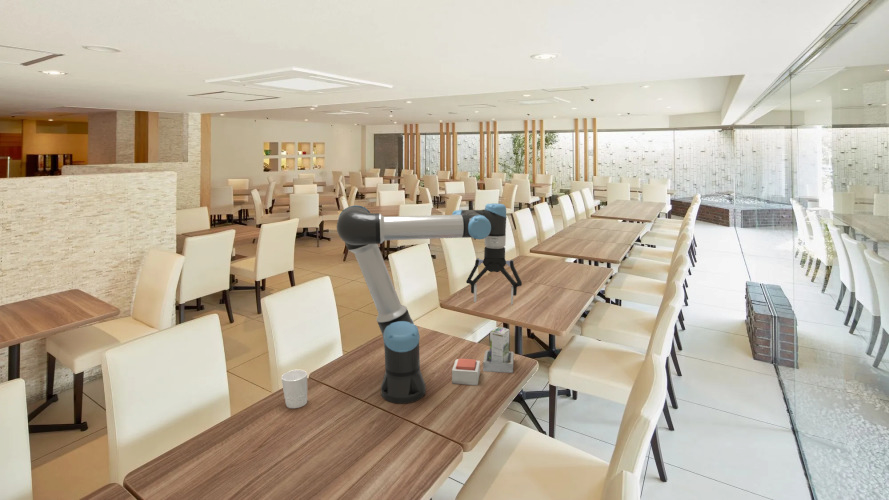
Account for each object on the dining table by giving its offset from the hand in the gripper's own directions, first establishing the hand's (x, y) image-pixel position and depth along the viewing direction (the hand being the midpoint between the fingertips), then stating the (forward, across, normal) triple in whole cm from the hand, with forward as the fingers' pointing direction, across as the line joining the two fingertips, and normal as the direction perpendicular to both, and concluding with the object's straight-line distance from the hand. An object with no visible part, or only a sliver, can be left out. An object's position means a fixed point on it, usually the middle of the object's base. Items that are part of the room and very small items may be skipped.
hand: (493, 302), depth 169 cm
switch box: (+25, -8, -11) cm, 29 cm away
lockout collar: (+25, +3, +1) cm, 25 cm away
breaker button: (+24, -8, -11) cm, 28 cm away
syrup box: (+25, +3, +1) cm, 26 cm away
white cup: (+27, -61, -36) cm, 76 cm away
